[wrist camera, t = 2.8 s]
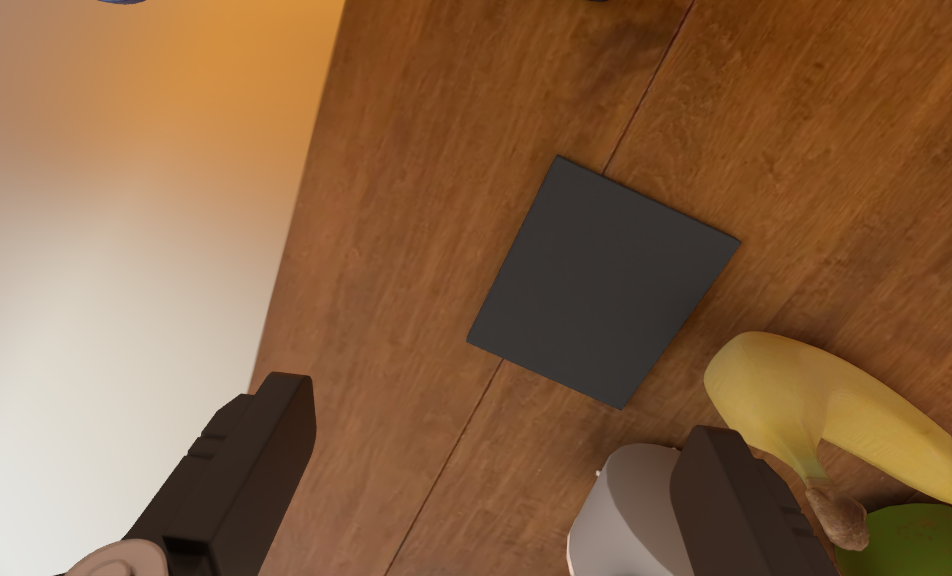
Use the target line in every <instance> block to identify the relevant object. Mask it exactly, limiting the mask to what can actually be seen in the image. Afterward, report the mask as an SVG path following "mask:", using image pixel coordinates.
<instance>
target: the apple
mask: <svg viewBox="0 0 952 576" xmlns="http://www.w3.org/2000/svg"><path fill="white" fill-rule="evenodd" d="M865 524H866V526H867V528H868V532H869V537H868V540H869V543H868V546H866V547H865V548H864V549H863V550H862V551H856V550H847V549H841V547H839V546H837V545H836V544H835V555H836V563H837V565H838V567H839V570H840V572H841V574H842V576H952V507H950V506H947V505H944V504H926V503H912V504H904V505H896V506H888V507H885V508H883V509H880V510H877V511H875V512H872V513H869V514H867V515H866V517H865Z"/></svg>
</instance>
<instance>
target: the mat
mask: <svg viewBox="0 0 952 576" xmlns="http://www.w3.org/2000/svg"><path fill="white" fill-rule="evenodd" d="M741 243H742V242H741V241H739V240H738V239H737V238H735V237H733V236H731V235H729V234H727V233H724V232H722V231H720V230H718V229H716V228H714V227H712V226H710V225H707V224H705V223H703V222H701V221H699V220H697V219H695V218H692V217H690V216H688V215H686V214H684V213H682V212H680V211H677V210H675V209H673V208H671V207H669V206H667V205H665V204H663V203H660V202H658V201H656V200H654V199H652V198H650V197H648V196H645V195H643V194H641V193H639V192H637V191H635V190H633V189H630V188H628V187H626V186H624V185H622V184H620V183H618V182H616V181H613V180H611V179H609V178H607V177H605V176H603V175H601V174H598V173H596V172H594V171H592V170H590V169H588V168H586V167H583V166H581V165H579V164H577V163H575V162H573V161H571V160H569V159H566V158H564V157H562V156H560V155H558V154H557V155H556V157H555V159H554V161H553V163H552V165H551V167H550V169H549V171H548V173H547V175H546V177H545V179H544V181H543V183H542V185H541V187H540V189H539V191H538V193H537V195H536V197H535V200H534V202H533V204H532V206H531V208H530V210H529V212H528V214H527V216H526V218H525V220H524V222H523V224H522V226H521V228H520V230H519V232H518V234H517V236H516V238H515V240H514V242H513V244H512V246H511V248H510V250H509V252H508V255H507V257H506V259H505V261H504V263H503V265H502V267H501V269H500V271H499V273H498V275H497V277H496V279H495V281H494V283H493V285H492V287H491V289H490V291H489V293H488V295H487V297H486V299H485V301H484V303H483V305H482V307H481V309H480V312H479V314H478V316H477V318H476V320H475V322H474V324H473V326H472V328H471V330H470V332H469V334H468V336H467V339H466V342H468V343H470V344H472V345H475V346H477V347H479V348H481V349H484V350H486V351H488V352H490V353H493V354H495V355H497V356H499V357H502V358H504V359H506V360H508V361H511V362H513V363H515V364H517V365H520V366H522V367H524V368H526V369H529V370H531V371H533V372H535V373H538V374H540V375H542V376H545V377H547V378H549V379H551V380H554V381H556V382H558V383H560V384H563V385H565V386H567V387H569V388H572V389H574V390H576V391H578V392H581V393H583V394H585V395H587V396H590V397H592V398H594V399H596V400H599V401H601V402H603V403H606V404H608V405H610V406H612V407H615V408H617V409H619V410H622V409H623V407H624V406H625V405H626V403H627V402H628V400H629V399H630V398H631V396H632V395H633V393H634V392H635V391H636V389H637V388H638V387H639V385H640V384H641V382H642V381H643V380H644V378H645V377H646V375H647V374H648V373H649V371H650V370H651V368H652V367H653V366H654V364H655V363H656V361H657V360H658V359H659V357H660V356H661V355H662V353H663V352H664V350H665V349H666V348H667V346H668V345H669V343H670V342H671V341H672V339H673V338H674V336H675V335H676V334H677V332H678V331H679V329H680V328H681V327H682V325H683V324H684V322H685V321H686V320H687V318H688V317H689V316H690V314H691V313H692V311H693V310H694V309H695V307H696V306H697V304H698V303H699V302H700V300H701V299H702V297H703V296H704V295H705V293H706V292H707V290H708V289H709V288H710V286H711V285H712V284H713V282H714V281H715V279H716V278H717V277H718V275H719V274H720V272H721V271H722V270H723V268H724V267H725V265H726V264H727V263H728V261H729V260H730V258H731V257H732V256H733V254H734V253H735V251H736V250H737V249H738V247H739V246H740V245H741Z"/></svg>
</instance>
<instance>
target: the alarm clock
mask: <svg viewBox="0 0 952 576" xmlns="http://www.w3.org/2000/svg"><path fill="white" fill-rule="evenodd" d="M680 454H681V451H678V450H677V449H676V448H672V449H671V448H668V447H664V446H660V445H657V444H645V443H635V444H630V445H624V446H622V447H620V448H619V449H617V450H616V451H614V452H613V453H612V454H610V456H609V457H608V459H607V461H606V463H605V465H604V467H603V469H602V471H600V470H598V471H596V474H597V476H598V478H597V480H596V482H595V484H594V486H593V488H592V490H591V491H590V493H589V495H588V497H587V499H586V501H585V503H584V505H583V507H582V508H581V510H580V512H579V514H578V516H577V518H576V520H575V522H574V524H573V526H572V528H571V530H570V533H569V535H568V542H567V561H568V566H569V570H570V575H571V576H694V573H693V569H692V566H691V563H690V560H689V557H688V554H687V551H686V548H685V544H684V541H683V538H682V535H681V532H680V529H679V526H678V523H677V520H676V516H675V513H674V510H673V507H672V504H671V499H670V490H669V487H670V477H671V473H672V471H673V469H674V467H675V464H676V462H677V460H678V458H679V456H680Z"/></svg>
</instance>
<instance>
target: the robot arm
mask: <svg viewBox="0 0 952 576" xmlns="http://www.w3.org/2000/svg"><path fill="white" fill-rule="evenodd" d="M315 439H316V417H315V406H314V395H313V385H312V379H311V377H310V376H307V375H299V374H291V373H283V372H271V373H270V374H269V375H268V376H267V377H266V379H265V380H264V382H263V383H262V385H261V386H260V388H259V389H258V391H257V392H256V394H255V395H249V394H240V395H238V396H237V397H236V398H234V399H233V400H232V401H230V402H229V403H227V404H226V405H225V406H223V407H222V408H221V409H219V410H218V411H217V412H216V413H215V415H214V416H213V417H212V419H211V420H210V421H209V423H208V424H207V426H206V427H205V428H204V430H203V431H202V433H201V436H200V437H198V438H197V439H196V441H195V442H194V443H193V445H192V446H191V448H190V449H189V450H188V454H187V456H184V457H183V458H182V460H181V461H180V463H179V464H178V465H177V467H176V468H175V469H174V471H173V472H172V473H171V475H170V476H169V477H168V479H167V480H166V481H165V483H164V484H163V486H162V487H161V488H160V490H159V491H158V492H157V494H156V495H155V496H154V498H153V499H152V501H151V502H150V503H149V505H148V506H147V507H146V509H145V510H144V512H143V513H142V514H141V516H140V517H139V518H138V520H137V521H136V522H135V524H134V525H133V527H132V528H131V529H130V530H129V531H128V533H127V534H126V535H125V536H124V537H123V538H122V539H121V540H120V541H118V542H114V543H112V544H109V545H106V546H104V547H102V548H99V549H97V550H96V551H94V552H92V553H90V554H89V555H87V556H86V557H84V558H83V559H82V560H80V561H79V562H78V563H76V564H75V565H74V566H73V567H72V568H71V569H70V570H69V571H68V572H66V573H63V574H59V575H55V576H257V575H258V573H259V571H260V568H261V566H262V564H263V562H264V560H265V557H266V555H267V553H268V551H269V548H270V546H271V544H272V542H273V540H274V537H275V535H276V533H277V531H278V528H279V526H280V524H281V522H282V520H283V517H284V515H285V513H286V511H287V508H288V506H289V504H290V502H291V500H292V497H293V495H294V493H295V491H296V488H297V486H298V484H299V482H300V480H301V477H302V475H303V473H304V471H305V468H306V466H307V464H308V462H309V460H310V457H311V455H312V452H313V448H314V444H315ZM669 490H670V499H671V504H672V507H673V510H674V513H675V516H676V520H677V523H678V526H679V529H680V532H681V535H682V538H683V541H684V544H685V548H686V551H687V554H688V557H689V560H690V563H691V566H692V569H693V573H694V576H839V574H838V572H837V570H836V569H835V567H834V565H833V563H832V562H831V560H830V558H829V556H828V555H827V553H826V551H825V550H824V548H823V546H822V544H821V543H820V541H819V539H818V537H817V536H814V534H813V531H814V530H813V529H812V527H811V525H810V524H809V522H808V520H807V518H806V517H805V515H804V514H801V508H800V506H799V504H798V503H797V501H796V499H795V498H794V496H793V494H792V492H791V491H790V489H789V487H788V485H787V484H786V482H785V481H784V480H783V479H782V478H781V477H780V476H779V475H778V474H777V473H776V472H775V471H774V470H773V469H772V468H771V467H770V466H769V465H768V464H767V463H766V462H765V461H764V460H763V459H755V458H754V457H753V455H752V454H751V452H750V450H749V448H748V446H747V444H746V442H745V440H744V439H743V437H742V435H741V434H740V433H739V432H738V431H737V430H734V429H726V428H718V427H710V426H702V425H697V426H695V427H694V428H693V429H692V431H691V432H690V435H689V437H688V439H687V441H686V443H685V445H684V447H683V449H682V452H681V454H680V456H679V458H678V460H677V462H676V464H675V467H674V469H673V471H672V473H671V477H670V487H669Z"/></svg>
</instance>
